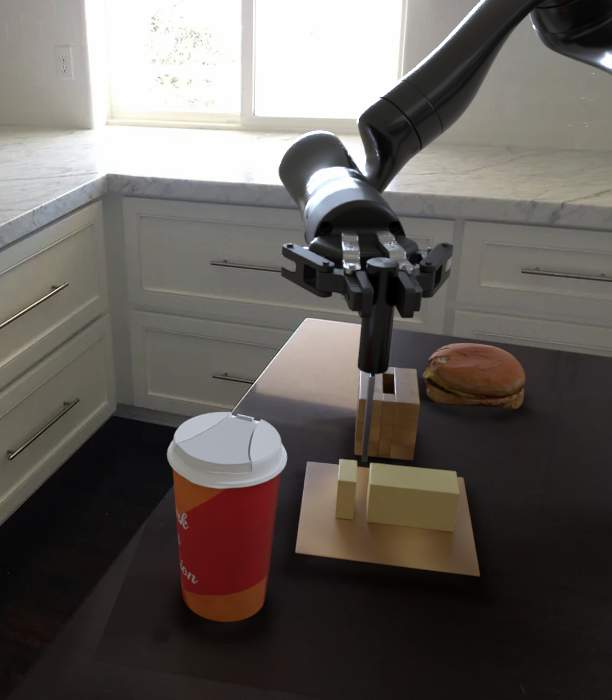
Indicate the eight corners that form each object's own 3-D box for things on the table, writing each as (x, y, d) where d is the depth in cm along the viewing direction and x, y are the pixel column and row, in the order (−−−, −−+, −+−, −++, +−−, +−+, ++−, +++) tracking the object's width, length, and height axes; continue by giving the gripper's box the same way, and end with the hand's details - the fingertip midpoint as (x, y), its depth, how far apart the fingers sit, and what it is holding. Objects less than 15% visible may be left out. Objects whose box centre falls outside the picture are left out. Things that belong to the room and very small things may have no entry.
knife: (379, 443, 68) (398, 256, 61) (379, 463, 65) (399, 270, 59) (350, 440, 68) (367, 254, 62) (349, 460, 66) (366, 268, 59)
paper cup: (197, 562, 66) (198, 398, 60) (294, 592, 62) (304, 423, 57) (148, 627, 59) (144, 451, 54) (253, 665, 56) (260, 482, 50)
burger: (542, 406, 87) (550, 364, 85) (467, 425, 84) (473, 382, 82) (474, 368, 95) (479, 328, 93) (403, 384, 92) (407, 344, 90)
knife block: (408, 435, 82) (416, 368, 79) (411, 474, 76) (420, 404, 73) (354, 430, 83) (360, 364, 80) (353, 468, 77) (359, 398, 74)
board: (461, 492, 73) (463, 477, 73) (477, 592, 62) (480, 576, 61) (306, 475, 76) (307, 461, 76) (294, 568, 65) (295, 552, 64)
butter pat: (354, 497, 70) (357, 460, 69) (353, 520, 68) (356, 482, 66) (336, 495, 71) (339, 458, 69) (334, 518, 68) (338, 480, 66)
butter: (450, 508, 69) (456, 471, 67) (454, 532, 66) (460, 493, 64) (366, 499, 70) (370, 462, 69) (366, 522, 67) (370, 484, 66)
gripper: (270, 186, 73) (288, 252, 57) (437, 185, 72) (502, 252, 56) (266, 271, 76) (283, 354, 60) (427, 271, 75) (485, 356, 60)
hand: (388, 304), depth 59 cm, fingers closed on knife, 2 cm apart
